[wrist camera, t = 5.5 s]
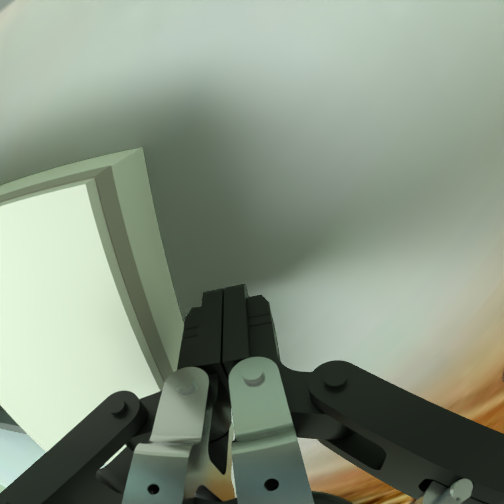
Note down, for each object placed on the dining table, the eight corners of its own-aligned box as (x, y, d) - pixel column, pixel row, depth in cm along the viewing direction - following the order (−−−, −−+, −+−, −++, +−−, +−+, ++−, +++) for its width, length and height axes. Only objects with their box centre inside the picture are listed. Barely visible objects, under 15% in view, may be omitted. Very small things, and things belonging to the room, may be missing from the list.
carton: (146, 144, 10) (86, 181, 6) (209, 397, 17) (206, 472, 13) (-30, 194, 10) (-96, 240, 6) (67, 393, 17) (46, 452, 13)
